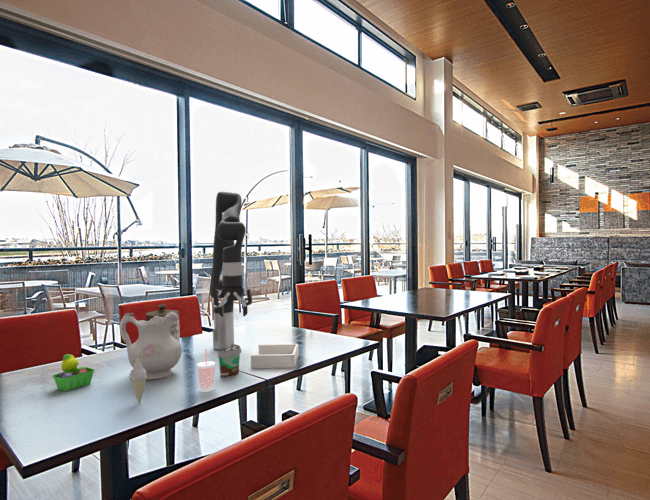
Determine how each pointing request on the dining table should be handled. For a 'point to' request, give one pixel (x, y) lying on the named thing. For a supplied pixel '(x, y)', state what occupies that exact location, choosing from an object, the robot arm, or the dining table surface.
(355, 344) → the dining table surface
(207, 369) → the beverage cup
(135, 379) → the ice cream cone
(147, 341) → the ceramic pitcher
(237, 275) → the robot arm
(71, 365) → the fruit basket
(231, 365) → the food container
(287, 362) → the box
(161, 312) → the lidded jar
